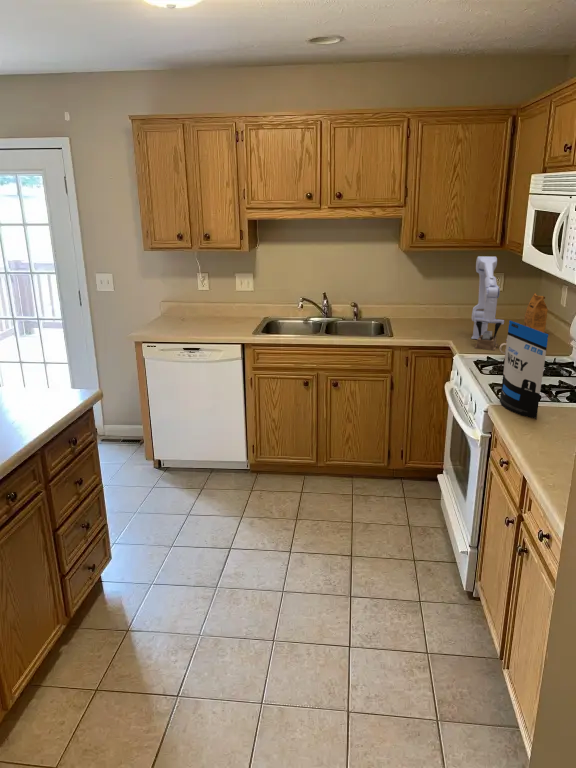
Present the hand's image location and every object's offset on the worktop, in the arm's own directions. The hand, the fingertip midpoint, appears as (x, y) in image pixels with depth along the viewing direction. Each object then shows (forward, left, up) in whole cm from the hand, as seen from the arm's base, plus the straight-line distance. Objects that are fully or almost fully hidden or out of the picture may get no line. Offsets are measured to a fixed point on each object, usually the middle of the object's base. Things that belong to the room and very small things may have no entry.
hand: (487, 336), depth 298 cm
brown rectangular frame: (0, 0, -5) cm, 5 cm away
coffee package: (-46, +20, -5) cm, 50 cm away
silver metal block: (0, 0, -5) cm, 5 cm away
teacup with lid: (+20, +14, -5) cm, 25 cm away
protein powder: (+92, +23, -5) cm, 95 cm away
